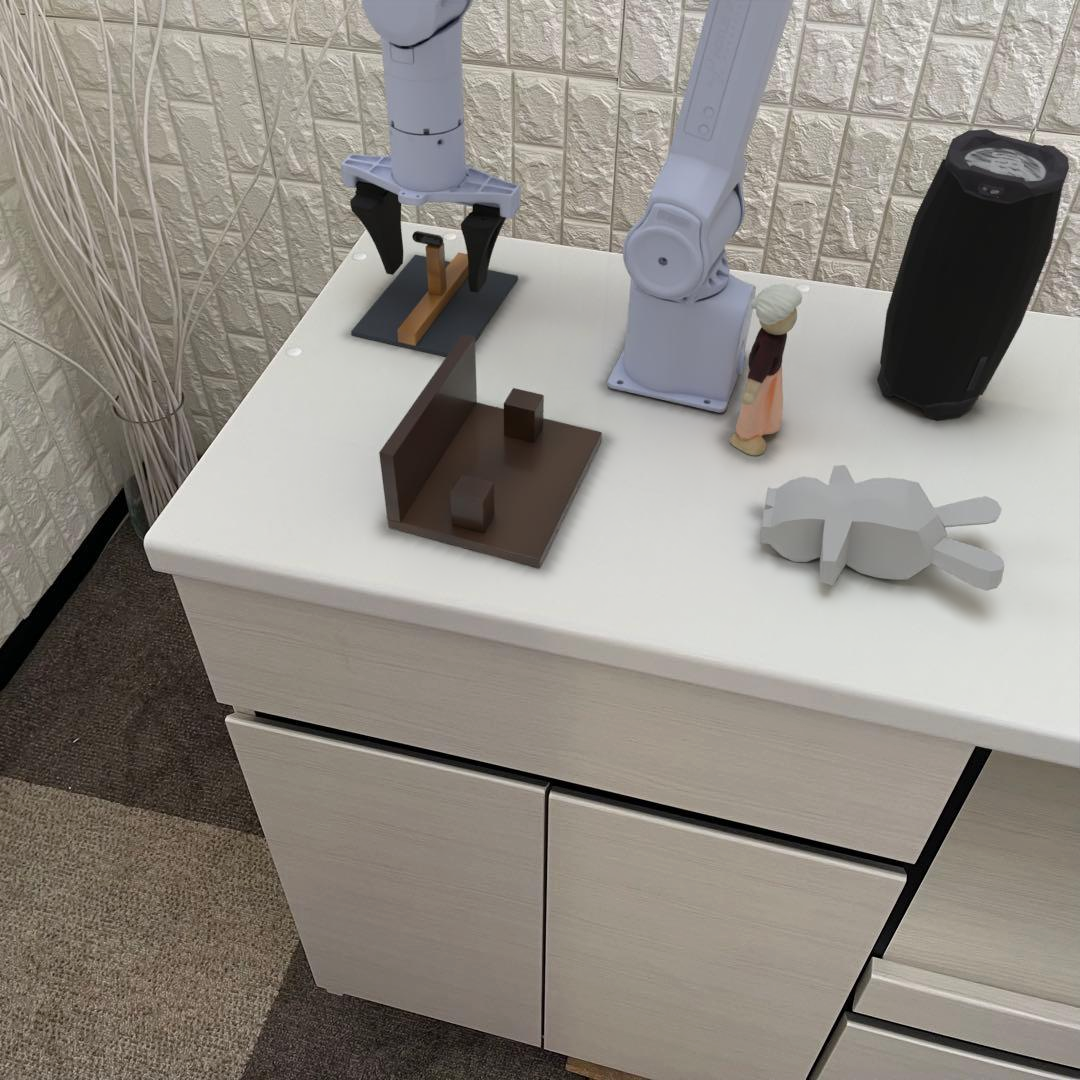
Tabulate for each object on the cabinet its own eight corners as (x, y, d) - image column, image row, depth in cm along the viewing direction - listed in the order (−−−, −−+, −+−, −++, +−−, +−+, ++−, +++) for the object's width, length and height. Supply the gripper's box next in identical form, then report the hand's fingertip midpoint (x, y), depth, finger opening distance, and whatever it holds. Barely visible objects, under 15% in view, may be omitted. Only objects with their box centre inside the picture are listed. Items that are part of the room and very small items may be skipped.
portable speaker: (859, 355, 87) (925, 122, 73) (974, 361, 87) (1062, 128, 73) (876, 420, 81) (952, 180, 67) (999, 427, 81) (1101, 187, 67)
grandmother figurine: (776, 468, 77) (811, 321, 68) (723, 460, 78) (751, 313, 69) (780, 403, 83) (813, 259, 74) (731, 397, 83) (758, 253, 74)
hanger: (475, 267, 95) (473, 200, 90) (415, 346, 86) (410, 277, 82) (447, 261, 96) (443, 194, 91) (385, 339, 87) (377, 270, 82)
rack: (601, 439, 79) (607, 365, 74) (539, 568, 70) (541, 493, 65) (465, 407, 82) (462, 333, 77) (387, 527, 72) (378, 452, 67)
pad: (518, 279, 94) (518, 275, 94) (462, 360, 86) (462, 356, 86) (415, 258, 97) (415, 254, 96) (351, 335, 88) (350, 331, 88)
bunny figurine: (773, 443, 73) (1006, 464, 69) (769, 498, 76) (991, 521, 73) (757, 537, 67) (1012, 566, 63) (753, 593, 70) (995, 623, 66)
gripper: (314, 124, 78) (336, 284, 88) (497, 157, 75) (499, 319, 85) (357, 88, 83) (373, 243, 93) (530, 117, 80) (529, 275, 90)
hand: (435, 277), depth 89 cm, fingers open, 7 cm apart
